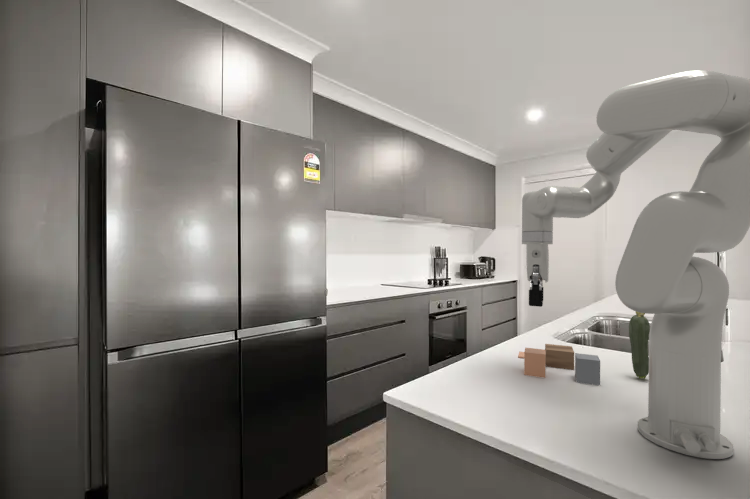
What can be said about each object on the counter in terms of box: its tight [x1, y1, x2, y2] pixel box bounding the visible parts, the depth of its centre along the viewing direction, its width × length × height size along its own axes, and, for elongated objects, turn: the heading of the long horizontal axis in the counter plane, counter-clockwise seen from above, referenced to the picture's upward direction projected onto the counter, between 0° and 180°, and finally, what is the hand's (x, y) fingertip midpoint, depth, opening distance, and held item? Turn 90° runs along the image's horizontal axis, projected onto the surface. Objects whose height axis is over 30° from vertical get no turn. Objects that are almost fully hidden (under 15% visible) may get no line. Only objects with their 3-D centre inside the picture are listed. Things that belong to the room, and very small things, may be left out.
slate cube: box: [574, 352, 601, 386], centre depth 92 cm, size 5×5×6 cm
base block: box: [544, 343, 575, 371], centre depth 105 cm, size 7×7×5 cm
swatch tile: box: [517, 351, 525, 359], centre depth 112 cm, size 6×6×1 cm
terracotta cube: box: [523, 347, 546, 379], centre depth 97 cm, size 5×5×6 cm
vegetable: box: [628, 311, 651, 379], centre depth 93 cm, size 4×4×20 cm
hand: (536, 303), depth 97 cm, fingers open, 9 cm apart
